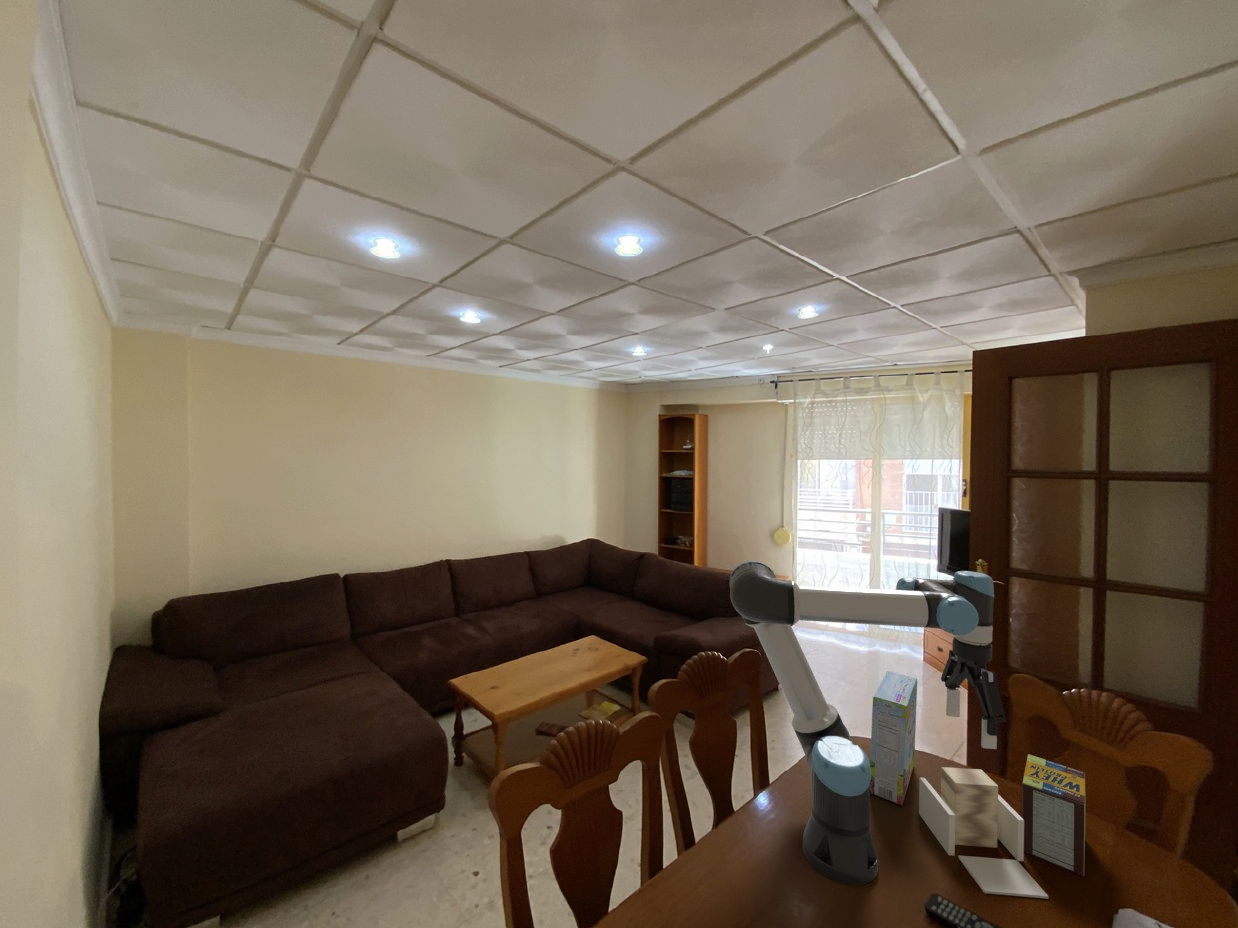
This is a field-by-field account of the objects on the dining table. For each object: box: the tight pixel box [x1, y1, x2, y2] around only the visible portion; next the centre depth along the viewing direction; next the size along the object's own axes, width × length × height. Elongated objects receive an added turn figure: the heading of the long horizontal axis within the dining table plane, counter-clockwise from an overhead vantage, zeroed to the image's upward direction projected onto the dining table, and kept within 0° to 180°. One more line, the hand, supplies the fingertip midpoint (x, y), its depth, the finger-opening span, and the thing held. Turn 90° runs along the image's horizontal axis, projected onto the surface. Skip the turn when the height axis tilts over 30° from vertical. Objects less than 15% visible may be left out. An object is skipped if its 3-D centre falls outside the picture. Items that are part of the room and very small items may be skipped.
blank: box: [940, 766, 999, 848], centre depth 116 cm, size 9×6×14 cm, turn 85°
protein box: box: [1021, 754, 1087, 877], centre depth 113 cm, size 10×15×16 cm
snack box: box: [869, 670, 918, 806], centre depth 136 cm, size 22×9×26 cm, turn 143°
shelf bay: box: [918, 777, 1025, 862], centre depth 116 cm, size 15×13×9 cm
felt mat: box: [957, 854, 1049, 900], centre depth 104 cm, size 12×9×1 cm
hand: (969, 730), depth 116 cm, fingers open, 13 cm apart
